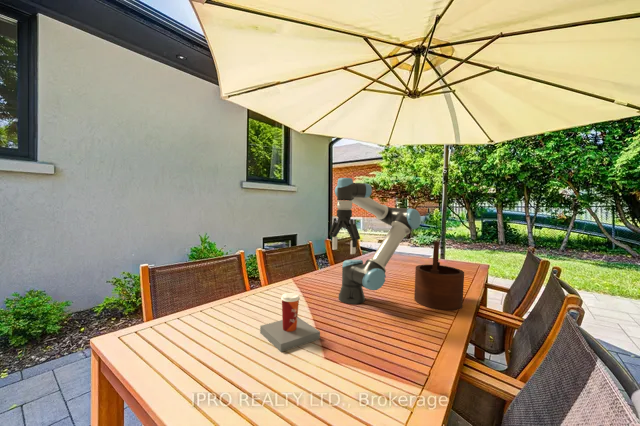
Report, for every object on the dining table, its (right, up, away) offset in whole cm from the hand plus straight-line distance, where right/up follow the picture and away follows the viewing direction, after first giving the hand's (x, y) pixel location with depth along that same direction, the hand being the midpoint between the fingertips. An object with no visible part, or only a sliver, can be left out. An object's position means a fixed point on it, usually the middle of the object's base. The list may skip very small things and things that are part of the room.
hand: (343, 251), depth 138 cm
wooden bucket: (+56, -33, +22) cm, 69 cm away
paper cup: (-24, -29, -24) cm, 45 cm away
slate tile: (-24, -32, -24) cm, 46 cm away
